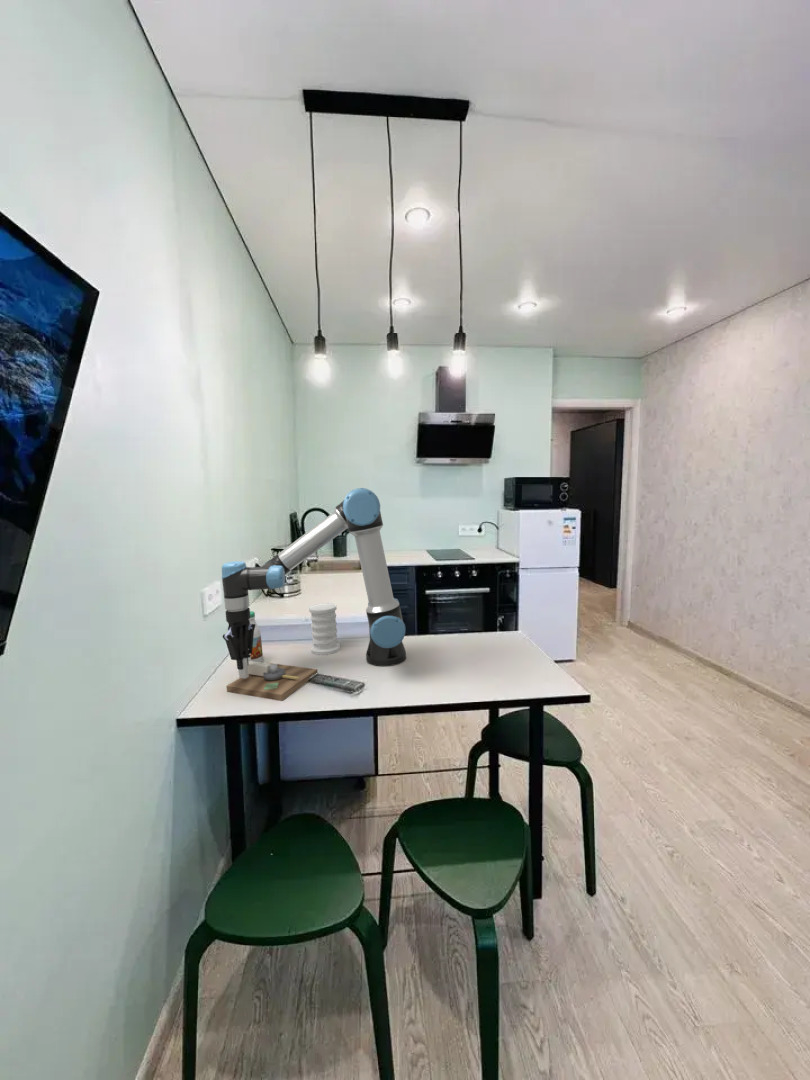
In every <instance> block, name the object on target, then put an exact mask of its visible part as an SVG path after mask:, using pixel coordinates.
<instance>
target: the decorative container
mask: <svg viewBox="0 0 810 1080" xmlns="http://www.w3.org/2000/svg"><path fill="white" fill-rule="evenodd" d="M336 610H337V605H336V604H335V603H329V602H327V603H326V602H325V603H318V604H313V605H311V606H309V609H308V612H309V613H310V614H311V615H310V621H311V624H310V626H311V629H312V630H311V635H312V641H311V642H312V644H313V645H312V646H311V648H310V651H311V653H312V654H313V655H314V656H315V655H316V656H327V655H332V654H335V653H337V652H339V651H340V650H341V644H340V643H338V639H339V638H338V635H337V634H338V628H337V620H336V618H337V614H336Z"/></svg>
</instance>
